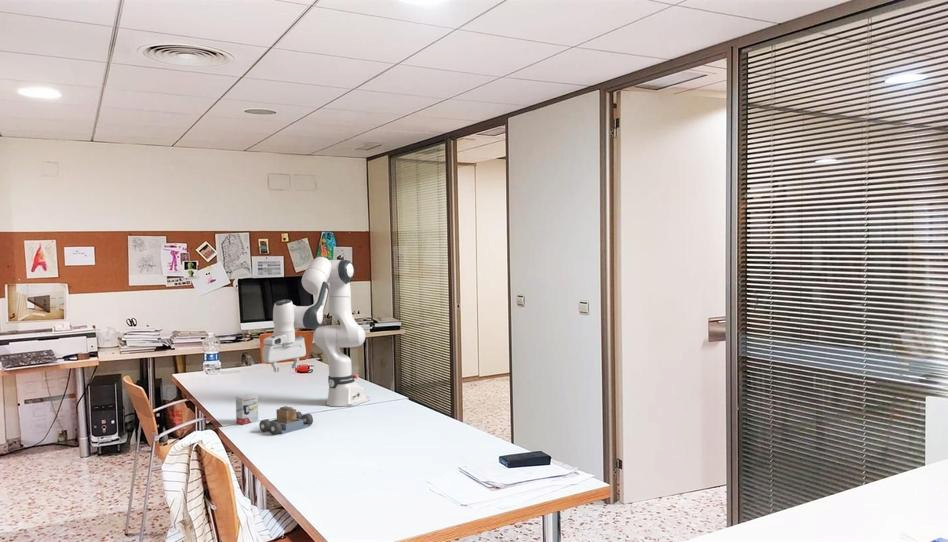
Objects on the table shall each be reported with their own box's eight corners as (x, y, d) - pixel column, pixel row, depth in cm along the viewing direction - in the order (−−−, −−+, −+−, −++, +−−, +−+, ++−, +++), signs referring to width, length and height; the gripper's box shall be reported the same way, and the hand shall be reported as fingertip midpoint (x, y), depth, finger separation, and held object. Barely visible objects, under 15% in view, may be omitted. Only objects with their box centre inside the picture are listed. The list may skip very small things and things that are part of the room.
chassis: (296, 421, 302) (295, 410, 302) (313, 425, 295) (313, 414, 295) (258, 431, 287) (258, 419, 287) (276, 435, 280) (276, 423, 280)
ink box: (242, 425, 298) (241, 398, 298) (235, 423, 301) (235, 397, 301) (259, 421, 305) (258, 395, 305) (252, 419, 308) (251, 393, 308)
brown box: (286, 423, 295) (285, 405, 295) (296, 425, 291) (296, 407, 291) (276, 425, 291) (276, 407, 291) (287, 428, 287) (286, 409, 287)
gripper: (299, 334, 301) (300, 365, 301) (259, 340, 284) (261, 373, 285) (308, 335, 297) (309, 366, 297) (269, 341, 280) (270, 374, 281)
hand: (285, 370), depth 291 cm, fingers open, 8 cm apart
